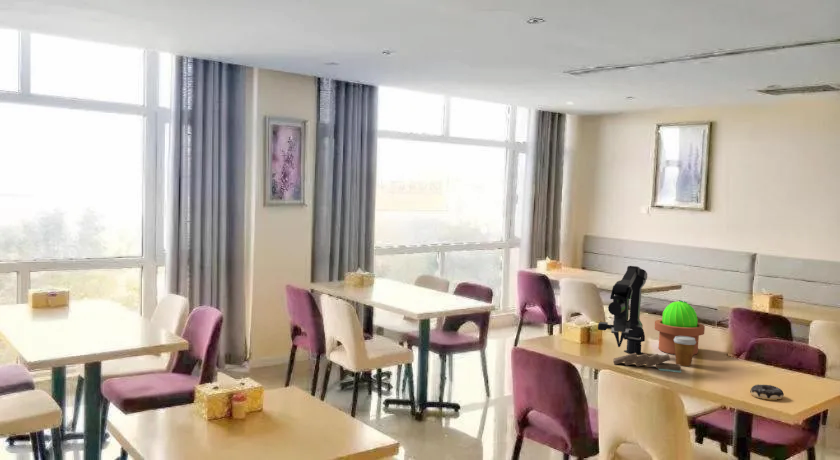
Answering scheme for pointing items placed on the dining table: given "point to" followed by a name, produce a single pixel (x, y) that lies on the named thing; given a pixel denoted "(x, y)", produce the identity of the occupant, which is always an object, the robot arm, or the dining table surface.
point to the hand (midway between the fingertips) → (619, 346)
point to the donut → (767, 392)
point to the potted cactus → (678, 326)
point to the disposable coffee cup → (684, 350)
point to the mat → (669, 370)
